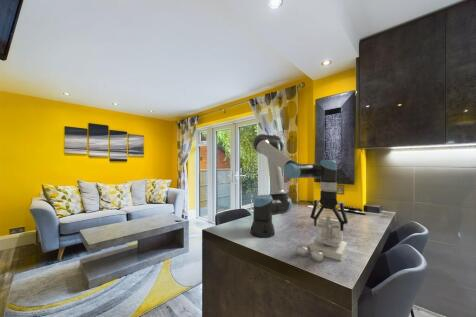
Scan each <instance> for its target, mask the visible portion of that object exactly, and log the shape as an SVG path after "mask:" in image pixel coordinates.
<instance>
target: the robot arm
mask: <svg viewBox="0 0 476 317" xmlns="http://www.w3.org/2000/svg"><path fill="white" fill-rule="evenodd" d="M252 147H253V149H254V150H255V151H256V152H257V153H258V154H261V155H263V156H264V157H265V158H267V166H268V174H269V184H270V192H269V193H268V194H260V195H256V196H255V197H253V198H254V199H253V211H252V212H253V215H252V216H253V221H252V224H251V227H250V234H251V235H252V236H254V237H258V238H271V237H274V236H275V235H276V234H275V233H276V232H275V231H276V230H275V226H274V223H273V216H276V215H277V216H278V215H284V214H288V213H289V212H290V211H291V209H292V205H293V202H292V199H291V198H290V196H288V194H287V191H285V188H284V181H283V180H284V179H283V173H284V176H285V177H287V178H288V179H306V178H307V179H309V178H312V179H314V178H315V179H320V199H314V200H313V207H312V210H311V214H310V219H312V220H313V226H314V227H315V233H316V234H320V233H319V232H320V227H318V224H320V219H319V217H320V215H321V214H322V212H323V211H324V209H325V210H332V212H333V213H334V215H335V217H336V220H339V222H340V223H339V238H341V231H343V232H344V225H347V224H348V223H349V221H348V217H347V214H346V211H345V204H344V202H340V201H339V202H338V197H337V196H338V195H337V194H338V193H337V190H338V188H337V187H338V184H337V183H338V182H337V179H338V178H337V177H338V176H337V172H338V167H337V161H336V160H331V159H330V160H329V159H326V160H325V159H324V160H323V159H322V160H321V161H320V163H298V162H296V161H295V160H294V159H293V158H291V157H289V156H288V155H286V154H285V153H284V152H282V151H284V148H285V142H284V140H283V138H282V137H280V136H278V135H276V134H274V135H271V134H264V133H263V134H262V133H261V134H257V135H256V136H255V137H254V138H253V140H252ZM282 170H283V173H282ZM319 204H320V205H321V207H320V208H319V210H318V211H317V213H316V210H317V208H318V205H319ZM337 205H338V207H339V209H340V212H341V214H340V213H339V211H338V209H337V207H336V206H337ZM341 215H342V216H341Z"/></svg>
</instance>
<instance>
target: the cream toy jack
mask: <svg viewBox="0 0 476 317" xmlns="http://www.w3.org/2000/svg"><path fill="white" fill-rule="evenodd" d="M325 218H326V222H324V224H322V223H319V224H318V227H319V228H322V227H323V228H326V236H327V237H330V231H332V230H333V228H337V229H339V225H332V224H330V219H331V216H330V215H326V216H325Z"/></svg>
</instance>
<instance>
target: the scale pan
mask: <svg viewBox="0 0 476 317" xmlns="http://www.w3.org/2000/svg"><path fill="white" fill-rule="evenodd" d="M313 242H318V243H322V244H327V245H331V246H335V247H339V246H340V244H341V242H342V238H339V237H334V236H330V237H327V236H326V235H324V234H322V233H318V234H317V236H316V237H315V238H314V239H313Z"/></svg>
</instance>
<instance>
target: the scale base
mask: <svg viewBox="0 0 476 317" xmlns="http://www.w3.org/2000/svg"><path fill="white" fill-rule="evenodd" d="M324 222H326V217H321V224H324ZM339 223H340V222H339V220H338V219H334V218H330V224H332V225H339ZM343 233H344V230H343V231H341V238H342V242H341V244H340V246H339V247H335V246H331V245H327V244H322V243H318V242H314V241H313V242H312V243H311V244H310V246H309V253H311V254H312V249H318V250H321V251H323V257H326V258H329V259H333V260H337V261H343V258H344V256H345V254H346V252H347V248H348V241H344V239H343V236H344V235H343ZM321 234H324V235H326V228H323V227H321ZM330 236H334V237H339V229H337V228H333V230H332V231H330Z"/></svg>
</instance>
